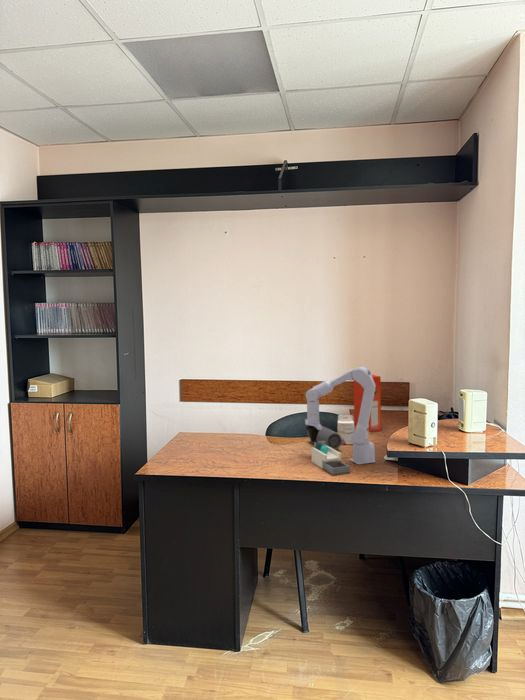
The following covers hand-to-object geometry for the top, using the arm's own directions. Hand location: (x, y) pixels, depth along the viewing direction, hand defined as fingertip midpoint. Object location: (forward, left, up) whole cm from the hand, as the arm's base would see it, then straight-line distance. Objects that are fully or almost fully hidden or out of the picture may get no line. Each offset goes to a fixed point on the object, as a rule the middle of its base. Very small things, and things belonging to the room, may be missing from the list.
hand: (313, 441), depth 231 cm
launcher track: (0, +13, -8) cm, 15 cm away
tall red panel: (-54, -39, -8) cm, 67 cm away
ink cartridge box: (-26, -15, -8) cm, 31 cm away
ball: (0, +12, -1) cm, 12 cm away
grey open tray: (0, +23, -8) cm, 24 cm away
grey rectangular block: (0, +7, -2) cm, 7 cm away
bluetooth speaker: (-13, -15, -8) cm, 21 cm away
